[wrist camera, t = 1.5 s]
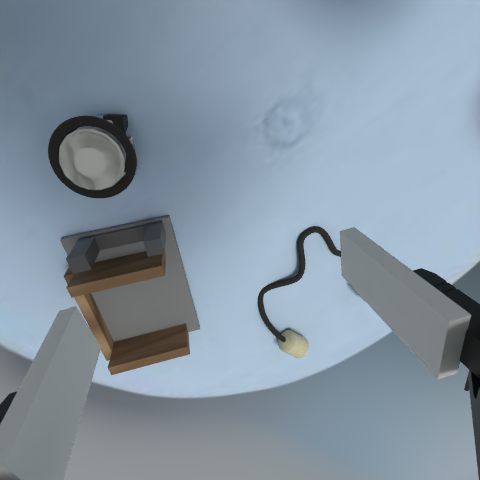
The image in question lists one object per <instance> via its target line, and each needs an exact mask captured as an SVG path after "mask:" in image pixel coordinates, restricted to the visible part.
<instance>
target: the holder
mask: <svg viewBox="0 0 480 480" xmlns="http://www.w3.org/2000/svg"><path fill="white" fill-rule="evenodd" d="M165 266H166V256H165V253H163V254H158V255H154V256H149V257H148V255H147V252H146V251H144V252H140V253H135V254H131V255H126V256H122V257H117V258H113V259H108V260H104V261H99V262H95V263H94V265H93V267H92V269H91V270H87V271H83V272H78V273H74V274H73V272H72V270H71V268H68V270H67V272H66V273H65V275H64V278H65V280H66V282H67V284H68V286H67V290H68V291H69V293H70V295H71V297H74V298H75V300H76V302H77V304H78V306H79V307H80V309H81V311H82V313H83V315H84V317H85V319H86V321H87V323H88V325H89V327H90V329H91V331H92V333H93V335H94V336H95V338H96V340H97V341H98V343H99V345H100V346H101V351H102V353H103V355H104V356H105V358H106V360H107V361H108V360H110V361H109V366H108V369H109V371H110V373H111V375H114V374H117V373H121V372H125V371H129V370H132V369H136V368H140V367H144V366H147V365H151V364H155V363H158V362H162V361H166V360H170V359H173V358H177V357H181V356H185V355H188V354H190V349H189V335H188V328H187V325H186V323H185V324H181V325H177V326H174V327H170V328H166V329H162V330H158V331H154V332H150V333H146V334H142V335H138V336H134V337H130V338H127V339H123V340H119V341H115V342H114V341H113V338H112V336H111V334H110V332H109V330H108V328H107V326H106V324H105V322H104V319H103V317H102V315H101V313H100V311H99V309H98V307H97V305H96V303H95V300H94V298H93V296H92V294H91V293H94V292H98V291H102V290H107V289H111V288H115V287H119V286H124V285H128V284H132V283H136V282H141V281H145V280H149V279H154V278H158V277H162V276H165Z"/></svg>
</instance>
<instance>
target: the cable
mask: <svg viewBox="0 0 480 480" xmlns="http://www.w3.org/2000/svg"><path fill="white" fill-rule="evenodd" d="M314 232H317V233H319V234H321V235H322V237H323V238H324V239H325V241H326V243H327V245H328V247H329V249H330V250H331V252H332V253H333V254H334V255H337V256H340V257H341V251H339V250H337V249H336V247H335V246H334V244H333V242H332V240H331V238H330V236H329V235H328V233H327V232H326V231H325V230H324V229H322V228H320V227H315V226H314V227H311V228H308V229H307V230H305V231H304V232H303V233H302V234H301V235H300V236H299V238H298V245H297V246H298V254H299V263H300V265H299V271H298V273H297V275H296V276H294V277H292V278H289V279H286V280H282V281H278V282H275V283H271V284H269V285H267V286H266V287H264V288H263V289H262V290H261V291H260V293H259V296H258V307H259V311H260V314H261V317H262V319H263V321H264V323H265V324H266V326H267V327H268V329H269V330H270V331H271V332H272V333H273V334H274V335H275V336H276V337H277V338H278V339H279V340H278V346H279V348H280V350H281V351H283V352H285V353H288V354H290V355H292V356H294V357H296V358H301V357H303V356H305V355H306V353H307V351H308V347H309V344H308V341H307V339H306V338H304V337H303V336H301V335H299V334H297V333H295V332H293V331H291V330H285V331H284V332H283V333H282V334H280V333H279V332H278V331H277V330H276V329H275V328H274V327H273V325H272V324H271V323H270V321H269V319H268V317H267V315H266V313H265V310H264V305H263V296H264V294H265V293H266V292H267V291H269V290H271V289H274V288H277V287H281V286H285V285H289V284H292V283H295V282H297V281H298V280H300V279H301V278H302V276H303V274H304V270H305V255H304V248H303V243H304V240H305V238H306V237H307V236H308V235H310V234H311V233H314ZM353 289H354V288H353ZM354 290H355V289H354ZM355 291H356V290H355ZM356 292H357V291H356ZM357 293H358V292H357ZM358 295H359V294H358ZM359 296H360V295H359ZM360 297H361V296H360ZM361 298H362V297H361ZM362 299H363V298H362ZM363 300H364V299H363ZM364 301H365V300H364ZM365 302H366V301H365Z"/></svg>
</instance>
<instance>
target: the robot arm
mask: <svg viewBox="0 0 480 480" xmlns="http://www.w3.org/2000/svg"><path fill="white" fill-rule="evenodd" d="M340 242H341V266H342V276H343V277H344V278H345V279H346V280H347V282H348V283H349V284H350V285H351V286H352V287H353V288H354V289H355V290H356V291H357V292H358V294H359V295H360V296H361V297H362V298H363V299H364V300H365V301H366V302H367V303H368V304H369V306H370V307H371V308H372V309H373V310H374V311H375V312H376V313H377V314H378V315H379V316H380V317H381V319H382V320H383V321H384V322H385V323H386V324H387V325H388V326H389V327H390V328H391V329H392V331H393V332H394V333H395V334H396V335H397V336H398V337H399V338H400V339H401V340H402V341H403V343H404V344H405V345H406V346H407V347H408V348H409V349H410V350H411V351H412V352H413V353H414V354H415V356H416V357H417V358H418V359H419V360H420V361H421V362H422V363H423V364H424V365H425V366H426V368H427V369H428V370H429V371H430V372H431V373H432V374H433V375H434V376H435V377H436V378H437V379H441V378H443V377H447V376H450V375H453V374H455V373H457V372H458V368H459V364H460V361H461V362H462V363H463V364H464V365H465V366H466V367H467V368H468V369H469V374H468V377H467V381H466V384H465V389H464V390H466V391H468V390H470V398H471V409H472V417H473V427H474V436H475V446H476V455H477V465H478V475H479V480H480V304H478V303H477V302H476V301H474V300H473V299H471V298H470V297H468V296H467V295H465V294H464V293H463V292H461V291H460V290H458V289H456V288H455V287H454V286H453V285H451V284H450V283H447V282H446V281H445V280H444V279H442V278H441V277H440V276H438V275H437V274H435V273H432V272H430V271H427V270H424V269H422V268H421V269H417V270H414V271H412V270H411V269H409V268H408V267H407V266H405V265H404V264H403V263H401V262H400V261H399V260H397V259H396V258H395V257H393V256H392V255H391V254H389V253H388V252H387V251H385V250H384V249H383V248H381V247H380V246H379V245H377V244H376V243H375V242H373V241H372V240H371V239H369V238H368V237H367V236H365V235H364V234H363V233H361V232H360V231H359V230H357V229H356V228H355V227H354V228H350V229H347V230H343V231H340ZM100 349H101V346H100V345H99V343H98V341H97V340H96V338H95V336H94V335H93V333H92V332H91V330H90V328H89V327H88V325H87V323H86V322H85V320H84V319H83V317H82V315H81V314H80V312H79V310H78V309H77V307H76V306H75V307H72V308H68V309H65V310H61V311H59V313H58V314H57V316H56V318H55V320H54V322H53V324H52V326H51V328H50V330H49V332H48V334H47V336H46V338H45V339H44V341H43V343H42V345H41V347H40V349H39V351H38V353H37V355H36V357H35V359H34V361H33V363H32V364H31V366H30V369H29V370H28V372H27V374H26V376H25V378H24V380H23V382H22V384H21V386H20V388H19V389H18V391H17V392H14V393H11V394H9V395H8V396H7V397H6V398H5V400H4V401H3V402H2V403H1V404H0V480H64V476H65V472H66V469H67V466H68V462H69V459H70V455H71V451H72V448H73V445H74V441H75V437H76V434H77V430H78V426H79V423H80V420H81V416H82V412H83V409H84V406H85V402H86V398H87V395H88V391H89V388H90V384H91V381H92V377H93V374H94V370H95V367H96V363H97V360H98V356H99V353H100Z"/></svg>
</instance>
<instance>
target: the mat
mask: <svg viewBox="0 0 480 480" xmlns="http://www.w3.org/2000/svg"><path fill="white" fill-rule="evenodd" d="M161 220H162V222H163V226H164V229H165V233H166V243H165V256H166V266H165V276H162V277H158V278H154V279H149V280H145V281H141V282H136V283H132V284H128V285H124V286H119V287H115V288H111V289H107V290H102V291H98V292H94V293H91V294H92V296H93V298H94V300H95V303H96V305H97V307H98V309H99V311H100V313H101V315H102V317H103V319H104V322H105V324H106V326H107V328H108V330H109V332H110V334H111V336H112V338H113V341H114V342H115V341H119V340H123V339H127V338H130V337H134V336H138V335H142V334H146V333H150V332H154V331H158V330H162V329H166V328H170V327H174V326H177V325H181V324H185V323H186V325H187V328H188V332H190V331H194V330H198V329H200V325H199V322H198V318H197V314H196V311H195V307H194V303H193V300H192V296H191V293H190V289H189V285H188V282H187V278H186V275H185V271H184V267H183V264H182V260H181V256H180V253H179V249H178V246H177V242H176V238H175V235H174V231H173V227H172V224H171V220H170V217H169V215H167V216H162V217H157V218H152V219H148V220H143V221H138V222H133V223H128V224H124V225H119V226H114V227H109V228H105V229H100V230H95V231H90V232H86V233H81V234H76V235H71V236H67V237H62V238H61V243H62V245H63V247H64V249H65V251H66V253H67V255H69V253H70V252H71V250H72V249H73V247H74V245H75V244H76V242H77V241H78V239H79V238H81V237H85V236H90V235H95V234H100V233H104V232H109V231H114V230H119V229H123V228H128V227H133V226H138V225H142V224H147V223H152V222H156V221H161ZM144 251H146V249H145V246H144V243H143V241H141V242H137V243H132V244H127V245H123V246H118V247H114V248H109V249H104V250H100V252H99V254H98V256H97V258H96V260H95V262H99V261H104V260H108V259H113V258H117V257H122V256H126V255H131V254H135V253H140V252H144ZM95 262H94V263H95Z"/></svg>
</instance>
